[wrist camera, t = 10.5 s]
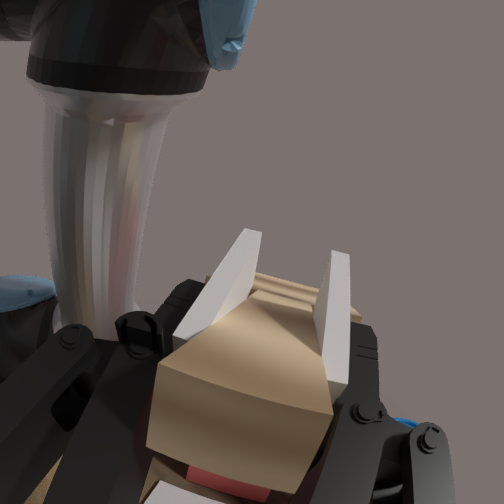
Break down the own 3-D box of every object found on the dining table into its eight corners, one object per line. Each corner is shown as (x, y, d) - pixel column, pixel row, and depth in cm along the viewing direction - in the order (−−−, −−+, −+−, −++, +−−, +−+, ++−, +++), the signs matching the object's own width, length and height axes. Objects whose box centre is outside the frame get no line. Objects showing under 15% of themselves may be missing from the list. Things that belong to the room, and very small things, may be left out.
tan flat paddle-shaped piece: (425, 501, 4) (471, 429, 4) (39, 383, 5) (41, 304, 5) (332, 314, 26) (337, 293, 26) (237, 289, 28) (242, 268, 28)
